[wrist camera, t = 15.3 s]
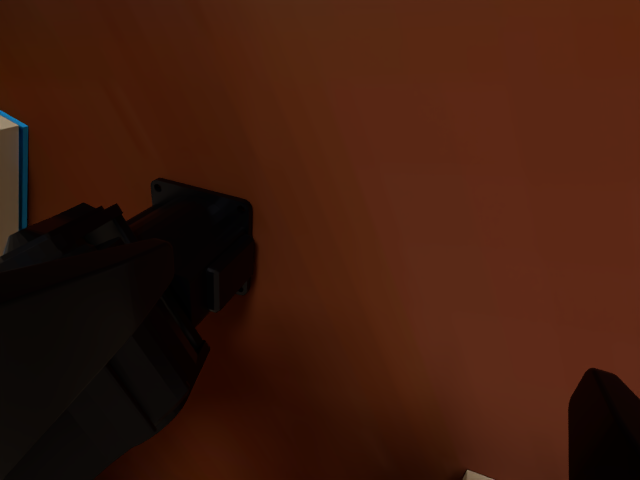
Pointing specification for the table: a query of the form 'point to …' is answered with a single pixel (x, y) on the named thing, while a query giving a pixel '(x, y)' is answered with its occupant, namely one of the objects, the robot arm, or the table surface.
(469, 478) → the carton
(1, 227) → the book
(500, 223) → the table surface
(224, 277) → the robot arm
